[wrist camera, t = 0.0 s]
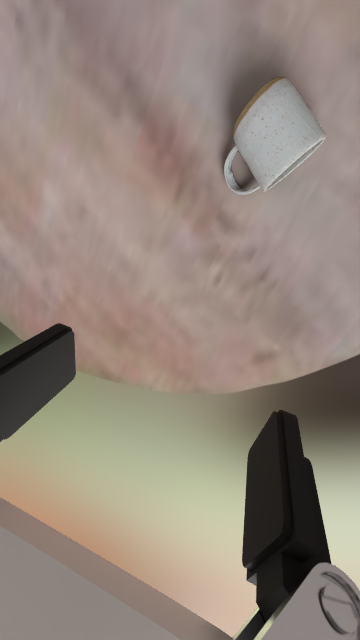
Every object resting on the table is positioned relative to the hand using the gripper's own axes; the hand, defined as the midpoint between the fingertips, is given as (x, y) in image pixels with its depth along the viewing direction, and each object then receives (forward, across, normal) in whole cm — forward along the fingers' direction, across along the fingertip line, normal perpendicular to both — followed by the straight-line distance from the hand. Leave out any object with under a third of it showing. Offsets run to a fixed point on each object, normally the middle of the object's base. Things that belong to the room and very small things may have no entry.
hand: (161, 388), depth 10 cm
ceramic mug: (+32, 0, -14) cm, 34 cm away
